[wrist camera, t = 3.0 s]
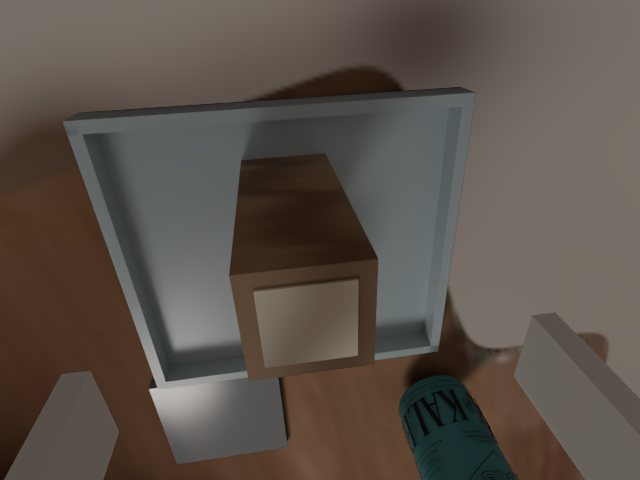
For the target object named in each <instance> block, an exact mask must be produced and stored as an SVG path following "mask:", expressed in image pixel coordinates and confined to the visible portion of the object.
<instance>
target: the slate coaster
mask: <svg viewBox="0 0 640 480" xmlns="http://www.w3.org/2000/svg"><path fill="white" fill-rule="evenodd" d="M149 391H150V393H151V396H152V399H153V402H154V404H155V407H156V410H157V412H158V415H159V418H160V420H161V423H162V426H163V428H164V431H165V434H166V436H167V439H168V442H169V444H170V447H171V450H172V452H173V455H174V458H175V461H176V463H177V464H183V463H190V462H196V461H203V460H209V459H215V458H222V457H228V456H235V455H241V454H247V453H254V452H260V451H266V450H273V449H279V448H286V447H288V446H287V436H286V429H285V421H284V414H283V406H282V398H281V391H280V383H279V377H277V378H270V379H263V380H256V381H249V380H248V378H241V379H234V380H227V381H219V382H212V383H205V384H197V385H190V386H183V387H176V388H168V389H161V390H158V388H157V385H156V382H153V383H150V387H149Z"/></svg>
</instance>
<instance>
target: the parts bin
mask: <svg viewBox="0 0 640 480" xmlns="http://www.w3.org/2000/svg"><path fill="white" fill-rule="evenodd" d="M475 96H476V93H475V92H472V91H470V90H467V89H464V88H461V87H454V88H438V89H423V90H408V91H394V92H379V93H364V94H349V95H334V96H320V97H305V98H290V99H275V100H260V101H246V102H231V103H216V104H201V105H187V106H172V107H157V108H142V109H128V110H112V111H98V112H85V113H84V112H83V113H77V114H75V115H73V116H71V117H70V118H68V119H66V120H64V121H63V124H64V127H65V130H66V132H67V135H68V138H69V141H70V144H71V147H72V149H73V152H74V155H75V158H76V161H77V163H78V166H79V169H80V172H81V175H82V177H83V180H84V183H85V186H86V189H87V192H88V194H89V197H90V200H91V203H92V206H93V208H94V211H95V214H96V217H97V220H98V222H99V225H100V228H101V231H102V234H103V236H104V239H105V242H106V245H107V248H108V250H109V253H110V256H111V259H112V262H113V264H114V267H115V270H116V273H117V276H118V279H119V281H120V284H121V287H122V290H123V293H124V295H125V298H126V301H127V304H128V307H129V309H130V312H131V315H132V318H133V321H134V323H135V326H136V329H137V332H138V335H139V337H140V340H141V343H142V346H143V349H144V352H145V354H146V357H147V360H148V363H149V366H150V368H151V371H152V374H153V377H154V380H155V382H156V385H157V388H158V390H161V389H168V388H176V387H183V386H190V385H197V384H205V383H212V382H219V381H227V380H234V379H241V378H248V374H247V369H246V364H245V358H244V353H243V348H242V342H241V337H240V332H239V326H238V321H237V315H236V310H235V305H234V299H233V294H232V289H231V283H230V278H229V271H230V262H231V252H232V243H233V233H234V223H235V214H236V204H237V195H238V185H239V176H240V166H241V160H251V159H263V158H275V157H287V156H299V155H311V154H323V153H325V154H326V156H327V158H328V160H329V162H330V164H331V166H332V168H333V170H334V172H335V174H336V176H337V178H338V180H339V182H340V184H341V186H342V188H343V190H344V192H345V194H346V196H347V198H348V199H349V201H350V203H351V205H352V207H353V209H354V211H355V213H356V215H357V217H358V219H359V221H360V223H361V225H362V227H363V229H364V231H365V233H366V235H367V237H368V239H369V241H370V243H371V245H372V247H373V249H374V251H375V253H376V255H377V257H378V284H377V309H376V335H375V360H380V359H387V358H394V357H401V356H409V355H416V354H423V353H431V352H438V348H439V341H440V334H441V328H442V321H443V314H444V307H445V301H446V294H447V287H448V280H449V273H450V267H451V260H452V253H453V246H454V239H455V232H456V225H457V219H458V212H459V206H460V198H461V192H462V185H463V179H464V172H465V165H466V157H467V151H468V144H469V138H470V130H471V124H472V118H473V110H474V104H475Z"/></svg>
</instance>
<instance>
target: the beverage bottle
mask: <svg viewBox="0 0 640 480" xmlns="http://www.w3.org/2000/svg"><path fill="white" fill-rule="evenodd" d="M468 391H469V390H467V389H466V387H465V386H464V384H462V383H461V382H460V381H459V380H458V379H456V378H454V377H451V376H446V375H438V376H432V377H428V378H425V379H422V380H420V381H418V382H416V383H415V384H413V385H412V386H411V387H409V388H408V389H407V390H406V391H405V392H404V394H403V395H402V397H401V400H400V404H399V411H400V416H401V417H400V418H402V424H403V426H404V427H405V428H404V427H403V428H404V429H403V430H406V432H404V433H406V434H407V436H408V440H409V441H410V444H411V447H412V448H411V449H412V452H413V454H414V456H415V459H416V461H415V460H414V461H415V462H417V465H418V467H419V468H418V467H416V468H418V469H419V470H420V473H421V476H422V477H421V476H420V477H421V478H422V479H423V480H517V478H516V477H515V476H516V475H515V474H514V473H513V471H512V470H511V468H512V467H511V466H509V464H508V462H507V461H506V459H505V457H504V455H503V453H502V451H501V450H500V448H499V446H498V444H499V443H498V442H497V440H495V439H494V437H495V436H494V435H493V433H492V431H491V429H490V426H489V424H487V421H486V419H485V418H484V416H483V414H482V412H481V410H480V408H479V406H478V405H477V403H476V404H475V402H476V401H473V399H472V395H471V396H470V394H469V392H470V391H469V392H468ZM470 393H471V392H470ZM474 400H475V399H474ZM482 416H483V418H484V419H483V418H482ZM484 420H485V421H484ZM400 421H401V420H400ZM485 422H486V423H485ZM486 424H487V425H486ZM406 434H405V435H406ZM495 438H496V437H495ZM496 442H497V443H498V444H497V443H496ZM410 444H409V443H408V445H410ZM409 447H410V446H409ZM414 456H413V457H414ZM415 465H416V464H415ZM510 467H511V468H510ZM419 470H418V471H419ZM422 479H421V480H422ZM518 480H520V479H518Z"/></svg>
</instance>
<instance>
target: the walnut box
mask: <svg viewBox="0 0 640 480" xmlns="http://www.w3.org/2000/svg"><path fill="white" fill-rule="evenodd" d="M229 278H230V283H231V289H232V294H233V299H234V305H235V310H236V315H237V321H238V326H239V332H240V337H241V342H242V348H243V353H244V358H245V364H246V369H247V374H248V380H249V381H256V380H263V379H270V378H277V377H285V376H292V375H299V374H306V373H314V372H321V371H328V370H335V369H343V368H350V367H357V366H364V365H371V364H374V360H375V335H376V309H377V284H378V257H377V255H376V253H375V251H374V249H373V247H372V245H371V243H370V241H369V239H368V237H367V235H366V233H365V231H364V229H363V227H362V225H361V223H360V221H359V219H358V217H357V215H356V213H355V211H354V209H353V207H352V205H351V203H350V201H349V199H348V198H347V196H346V194H345V192H344V190H343V188H342V186H341V184H340V182H339V180H338V178H337V176H336V174H335V172H334V170H333V168H332V166H331V164H330V162H329V160H328V158H327V156H326V154H325V153H323V154H311V155H299V156H287V157H275V158H263V159H251V160H241V166H240V176H239V185H238V195H237V204H236V214H235V223H234V233H233V243H232V252H231V262H230V271H229Z"/></svg>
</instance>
